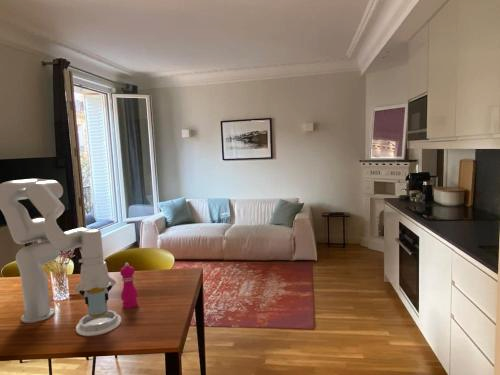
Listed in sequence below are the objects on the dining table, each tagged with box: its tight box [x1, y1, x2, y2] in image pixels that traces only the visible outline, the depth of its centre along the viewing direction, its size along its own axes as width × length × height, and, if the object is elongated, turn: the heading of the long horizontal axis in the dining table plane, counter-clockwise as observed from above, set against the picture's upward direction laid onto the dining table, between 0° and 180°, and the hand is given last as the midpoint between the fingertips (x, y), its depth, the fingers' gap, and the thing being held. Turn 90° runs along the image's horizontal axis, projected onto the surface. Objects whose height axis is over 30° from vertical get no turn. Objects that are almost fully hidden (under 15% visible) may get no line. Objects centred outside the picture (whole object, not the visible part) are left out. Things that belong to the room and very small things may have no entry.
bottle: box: [87, 280, 108, 317], centre depth 142 cm, size 7×7×15 cm
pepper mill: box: [120, 262, 139, 309], centre depth 161 cm, size 7×7×20 cm
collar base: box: [75, 309, 122, 337], centre depth 144 cm, size 17×17×3 cm
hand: (97, 303), depth 143 cm, fingers closed on bottle, 5 cm apart
